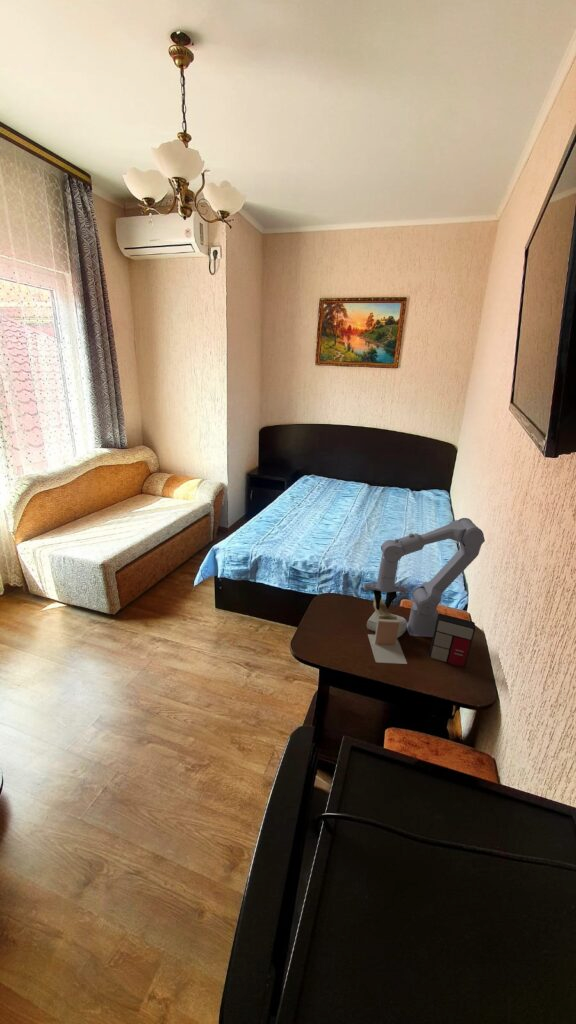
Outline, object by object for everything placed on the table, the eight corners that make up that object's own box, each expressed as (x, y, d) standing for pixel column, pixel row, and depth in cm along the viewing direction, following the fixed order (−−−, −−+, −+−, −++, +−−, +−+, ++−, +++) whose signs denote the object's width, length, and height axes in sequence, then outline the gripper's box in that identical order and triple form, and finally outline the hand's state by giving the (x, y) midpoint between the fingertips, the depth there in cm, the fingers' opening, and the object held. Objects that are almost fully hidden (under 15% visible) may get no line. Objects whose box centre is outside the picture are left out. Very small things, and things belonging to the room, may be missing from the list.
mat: (395, 637, 141) (396, 635, 141) (407, 665, 128) (407, 663, 127) (367, 635, 141) (367, 634, 140) (375, 663, 127) (375, 662, 127)
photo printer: (365, 630, 143) (400, 642, 137) (367, 619, 142) (402, 631, 136) (375, 617, 152) (408, 627, 146) (376, 607, 150) (410, 617, 144)
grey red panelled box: (428, 659, 131) (437, 619, 126) (429, 651, 135) (438, 612, 130) (465, 669, 128) (475, 629, 122) (464, 661, 131) (475, 622, 126)
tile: (394, 642, 137) (398, 620, 134) (395, 645, 136) (399, 622, 132) (374, 641, 137) (377, 618, 134) (374, 644, 135) (378, 621, 132)
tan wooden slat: (384, 606, 150) (385, 596, 149) (395, 627, 135) (397, 616, 134) (368, 605, 150) (369, 595, 149) (377, 626, 135) (379, 615, 134)
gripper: (405, 570, 142) (399, 603, 147) (364, 567, 142) (359, 601, 146) (410, 580, 135) (404, 614, 140) (367, 577, 135) (362, 612, 140)
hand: (381, 608), depth 143 cm, fingers closed on tan wooden slat, 2 cm apart
